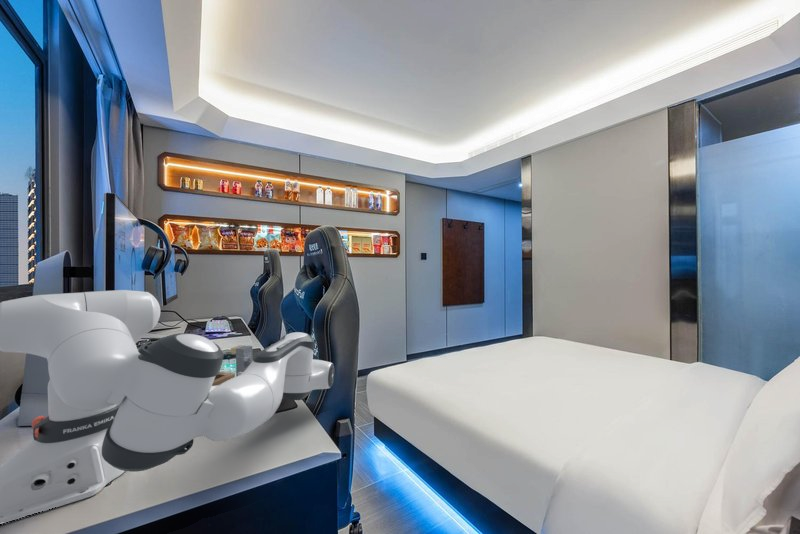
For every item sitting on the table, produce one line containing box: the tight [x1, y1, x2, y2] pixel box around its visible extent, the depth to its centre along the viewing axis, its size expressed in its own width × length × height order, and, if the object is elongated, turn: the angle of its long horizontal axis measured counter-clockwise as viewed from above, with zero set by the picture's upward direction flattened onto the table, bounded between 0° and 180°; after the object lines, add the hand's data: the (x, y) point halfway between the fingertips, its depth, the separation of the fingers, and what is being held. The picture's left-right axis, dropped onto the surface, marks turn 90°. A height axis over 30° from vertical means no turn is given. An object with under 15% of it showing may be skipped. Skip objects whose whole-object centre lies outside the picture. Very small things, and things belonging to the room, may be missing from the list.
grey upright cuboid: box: [230, 344, 254, 377], centre depth 104 cm, size 5×4×17 cm
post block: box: [212, 371, 236, 386], centre depth 107 cm, size 12×12×6 cm
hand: (250, 369), depth 104 cm, fingers open, 8 cm apart
